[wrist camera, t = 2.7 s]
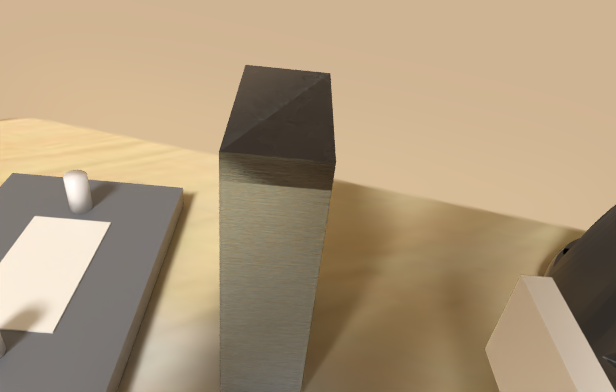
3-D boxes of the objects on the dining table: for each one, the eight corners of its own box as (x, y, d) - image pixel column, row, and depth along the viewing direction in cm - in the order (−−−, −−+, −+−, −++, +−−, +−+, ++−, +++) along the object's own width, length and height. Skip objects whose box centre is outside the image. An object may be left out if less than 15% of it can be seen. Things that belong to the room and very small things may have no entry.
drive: (302, 282, 32) (330, 73, 24) (299, 397, 25) (335, 162, 17) (239, 277, 32) (245, 65, 24) (220, 391, 25) (219, 151, 17)
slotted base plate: (183, 204, 37) (181, 158, 35) (98, 443, 22) (83, 391, 20) (17, 190, 36) (3, 142, 34) (-182, 426, 22) (-230, 370, 20)
